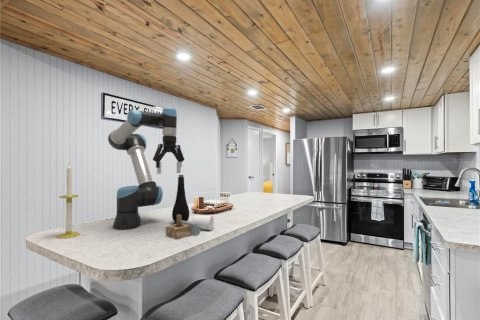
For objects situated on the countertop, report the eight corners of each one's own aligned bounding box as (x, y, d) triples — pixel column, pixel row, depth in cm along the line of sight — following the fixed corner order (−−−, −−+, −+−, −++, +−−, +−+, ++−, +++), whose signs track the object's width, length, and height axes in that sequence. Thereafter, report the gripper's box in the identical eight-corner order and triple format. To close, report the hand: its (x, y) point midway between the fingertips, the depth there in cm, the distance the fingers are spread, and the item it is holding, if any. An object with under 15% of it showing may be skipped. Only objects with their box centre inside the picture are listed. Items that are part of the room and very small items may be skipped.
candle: (73, 238, 126) (73, 163, 126) (52, 238, 126) (52, 162, 126) (84, 232, 136) (84, 162, 136) (64, 232, 136) (65, 162, 136)
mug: (209, 231, 140) (209, 217, 140) (192, 230, 142) (192, 216, 142) (215, 226, 151) (215, 213, 151) (199, 225, 153) (199, 212, 153)
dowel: (175, 234, 132) (175, 215, 132) (179, 233, 134) (179, 214, 134) (178, 235, 131) (178, 216, 130) (182, 234, 133) (182, 215, 133)
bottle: (192, 222, 160) (193, 174, 160) (180, 226, 151) (181, 175, 151) (180, 220, 165) (181, 174, 165) (168, 223, 157) (168, 175, 157)
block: (165, 235, 131) (166, 226, 131) (179, 231, 139) (179, 222, 139) (177, 239, 126) (177, 229, 126) (191, 234, 133) (191, 225, 133)
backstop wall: (176, 231, 140) (176, 220, 140) (183, 229, 144) (183, 218, 144) (194, 235, 132) (194, 224, 132) (201, 233, 136) (201, 222, 136)
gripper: (154, 133, 131) (154, 174, 131) (190, 137, 151) (190, 172, 151) (146, 134, 135) (145, 174, 135) (182, 137, 156) (181, 172, 156)
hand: (169, 173), depth 143 cm, fingers open, 13 cm apart
